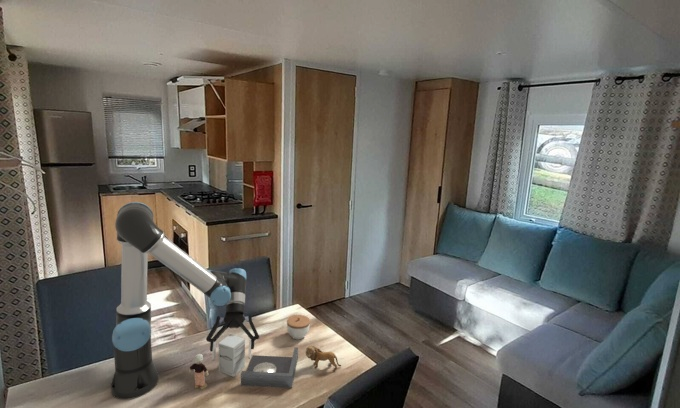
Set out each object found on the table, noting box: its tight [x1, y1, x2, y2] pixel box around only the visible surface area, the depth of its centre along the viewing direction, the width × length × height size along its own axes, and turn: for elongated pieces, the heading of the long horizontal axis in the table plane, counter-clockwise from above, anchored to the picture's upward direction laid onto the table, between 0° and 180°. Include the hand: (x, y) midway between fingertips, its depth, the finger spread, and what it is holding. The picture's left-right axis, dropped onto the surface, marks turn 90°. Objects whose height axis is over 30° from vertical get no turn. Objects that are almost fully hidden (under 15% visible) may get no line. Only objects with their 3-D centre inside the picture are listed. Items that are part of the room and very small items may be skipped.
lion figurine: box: [305, 345, 342, 371], centre depth 146 cm, size 15×5×9 cm, turn 93°
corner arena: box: [240, 347, 299, 389], centre depth 142 cm, size 19×18×5 cm
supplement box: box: [218, 334, 246, 378], centre depth 141 cm, size 7×7×13 cm
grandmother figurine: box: [188, 353, 209, 390], centre depth 131 cm, size 8×4×13 cm, turn 90°
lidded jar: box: [286, 314, 311, 340], centre depth 167 cm, size 11×11×9 cm
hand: (231, 359), depth 139 cm, fingers open, 13 cm apart
